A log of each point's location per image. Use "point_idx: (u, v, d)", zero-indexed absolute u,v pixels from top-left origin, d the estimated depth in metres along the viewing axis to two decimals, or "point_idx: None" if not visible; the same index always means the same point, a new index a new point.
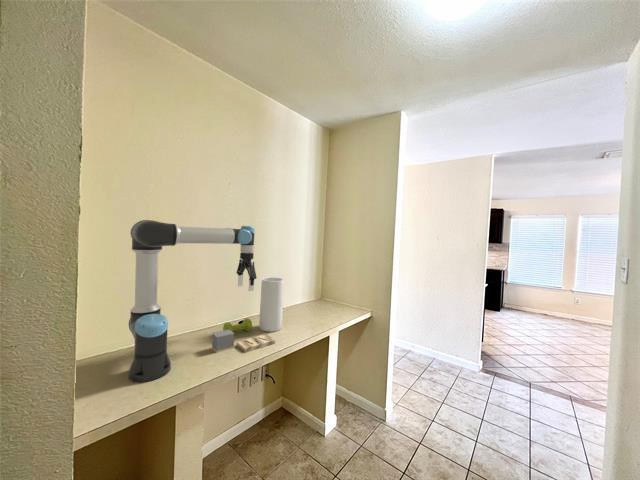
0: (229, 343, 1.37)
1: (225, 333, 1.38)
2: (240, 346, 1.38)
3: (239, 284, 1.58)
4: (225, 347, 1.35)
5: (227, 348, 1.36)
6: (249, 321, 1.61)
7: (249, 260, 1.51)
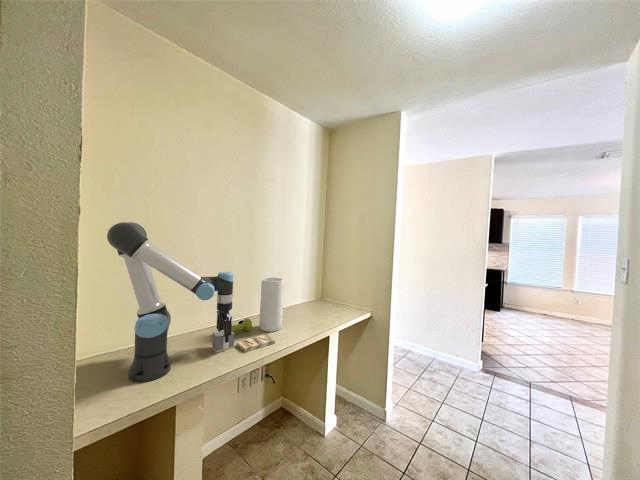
0: (229, 343, 1.37)
1: None
2: (240, 346, 1.38)
3: None
4: None
5: (227, 348, 1.36)
6: (249, 321, 1.61)
7: (227, 312, 1.34)
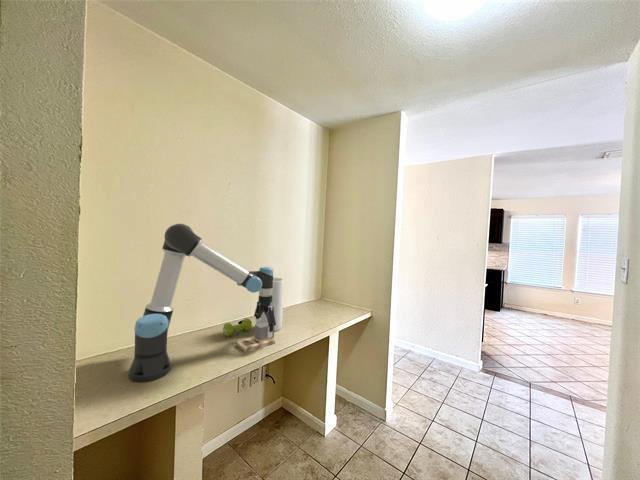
0: None
1: (266, 324, 1.47)
2: (240, 346, 1.38)
3: None
4: None
5: (268, 338, 1.46)
6: (249, 321, 1.61)
7: (268, 304, 1.43)
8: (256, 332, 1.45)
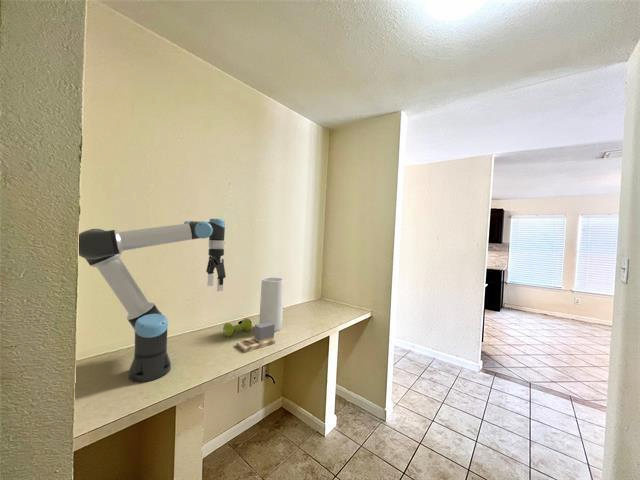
0: (270, 334, 1.46)
1: (266, 324, 1.47)
2: (240, 346, 1.38)
3: (209, 284, 1.43)
4: (267, 337, 1.45)
5: (268, 338, 1.46)
6: (249, 321, 1.61)
7: (218, 257, 1.35)
8: (256, 332, 1.45)
